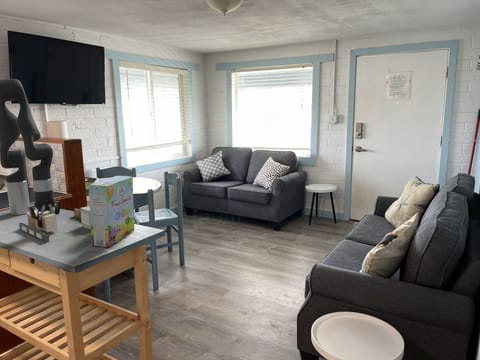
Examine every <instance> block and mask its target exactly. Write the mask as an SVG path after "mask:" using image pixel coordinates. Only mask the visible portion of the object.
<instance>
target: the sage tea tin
mask: <svg viewBox="0 0 480 360" xmlns="http://www.w3.org/2000/svg"><path fill="white" fill-rule="evenodd" d="M79 210H81V218H80V221H81V227H82V226H83V228H85V229H88V230H90V231H91V219H90V205H88V206H83V207H79Z"/></svg>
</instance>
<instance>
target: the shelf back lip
mask: <svg viewBox="0 0 480 360" xmlns="http://www.w3.org/2000/svg"><path fill="white" fill-rule="evenodd" d="M73 217H75V218H78V219H81V210H80V208H73Z"/></svg>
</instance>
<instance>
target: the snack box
mask: <svg viewBox="0 0 480 360" xmlns="http://www.w3.org/2000/svg"><path fill="white" fill-rule="evenodd" d="M133 178H134V177H133V176H129V175H115V176H112V177H109V178H105V179H102V180H99V181H96V182H94V183H90V184H88V196H89V197H88V198H89V203H90V205H89V206H90V219H91V230H90V234H91V235H90V236H91V247H101V248H110V247H112V246H113V245H115V244H117V242H119V241H120V240H122V239H124V238H126V237H127V236H129V235H130V234H131V233H133V232H134V231H135V213H134V212H135V211H134V210H135V209H134V208H135V207H134V180H133Z"/></svg>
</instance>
